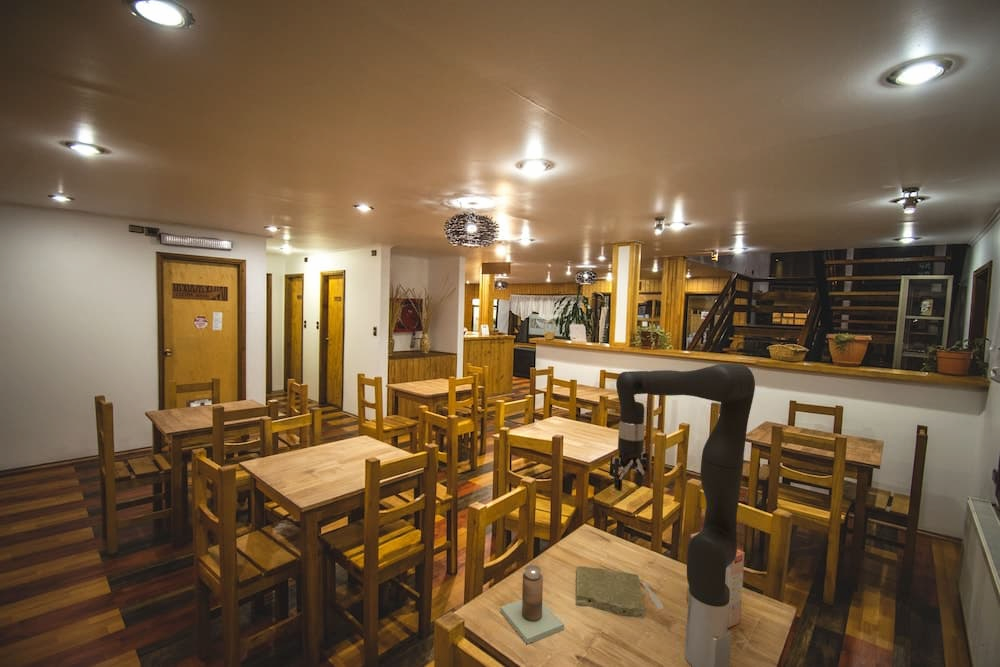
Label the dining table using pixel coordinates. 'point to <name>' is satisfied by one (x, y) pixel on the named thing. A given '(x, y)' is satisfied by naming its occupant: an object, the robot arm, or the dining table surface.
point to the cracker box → (733, 586)
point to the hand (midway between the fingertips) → (628, 487)
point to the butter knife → (653, 597)
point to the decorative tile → (609, 591)
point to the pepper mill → (532, 593)
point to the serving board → (531, 629)
